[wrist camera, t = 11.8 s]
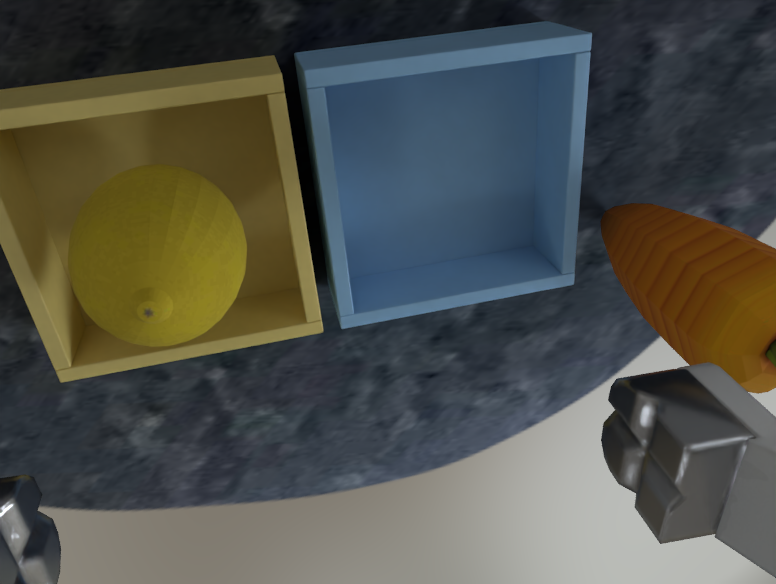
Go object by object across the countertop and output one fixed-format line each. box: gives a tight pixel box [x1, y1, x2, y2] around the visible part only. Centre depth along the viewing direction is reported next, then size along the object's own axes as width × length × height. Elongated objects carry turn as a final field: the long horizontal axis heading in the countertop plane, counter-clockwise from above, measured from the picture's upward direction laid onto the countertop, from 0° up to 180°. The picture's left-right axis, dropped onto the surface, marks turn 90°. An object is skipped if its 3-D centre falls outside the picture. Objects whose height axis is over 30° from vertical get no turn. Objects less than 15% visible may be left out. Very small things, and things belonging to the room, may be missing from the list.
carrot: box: [601, 203, 776, 393], centre depth 24 cm, size 5×5×15 cm
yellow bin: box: [0, 55, 323, 382], centre depth 24 cm, size 10×10×4 cm
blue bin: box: [294, 21, 592, 329], centre depth 25 cm, size 10×10×4 cm
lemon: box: [68, 164, 247, 347], centre depth 21 cm, size 6×6×8 cm
